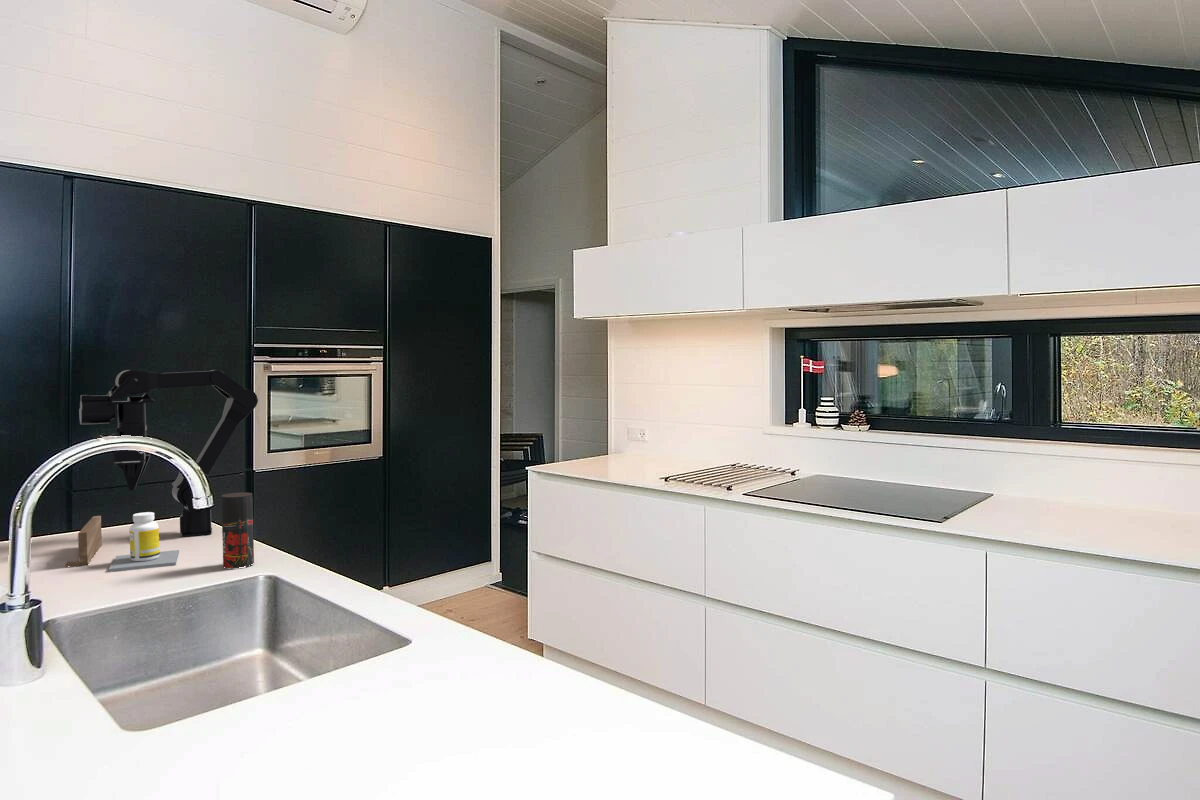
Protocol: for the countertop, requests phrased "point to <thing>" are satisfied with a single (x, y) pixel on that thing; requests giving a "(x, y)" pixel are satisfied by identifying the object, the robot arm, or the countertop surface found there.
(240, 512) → the deodorant
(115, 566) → the mat
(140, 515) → the supplement bottle
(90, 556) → the screen
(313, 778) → the countertop surface
